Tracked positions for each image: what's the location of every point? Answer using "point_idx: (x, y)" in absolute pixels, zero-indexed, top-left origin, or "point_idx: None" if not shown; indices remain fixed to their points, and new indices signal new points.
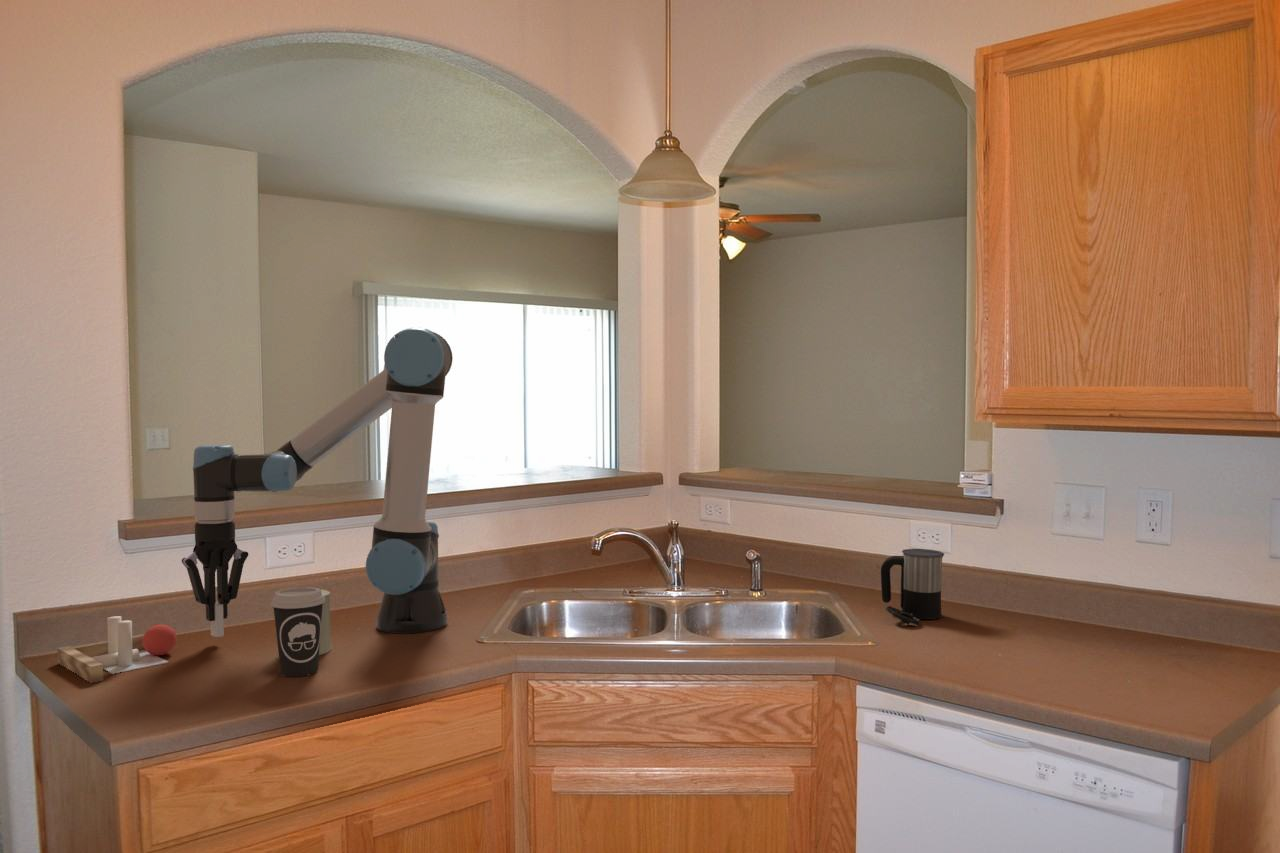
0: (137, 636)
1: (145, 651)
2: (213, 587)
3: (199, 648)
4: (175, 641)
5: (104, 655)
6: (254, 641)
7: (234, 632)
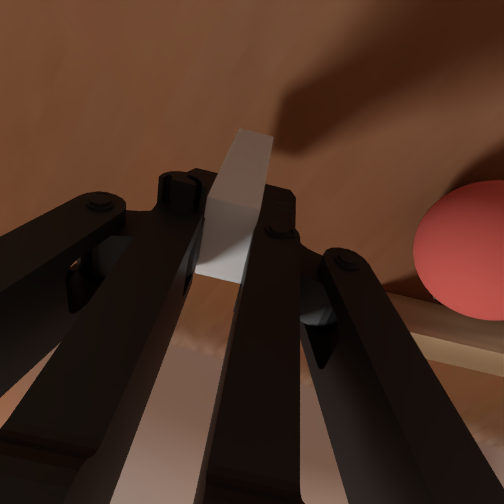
0: (458, 349)
1: None
2: (257, 313)
3: (327, 166)
4: (459, 194)
5: None
6: (124, 43)
7: None
